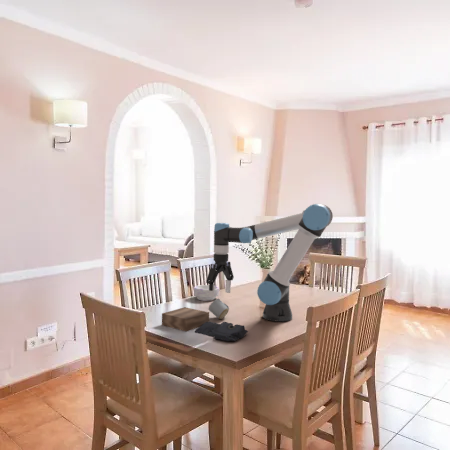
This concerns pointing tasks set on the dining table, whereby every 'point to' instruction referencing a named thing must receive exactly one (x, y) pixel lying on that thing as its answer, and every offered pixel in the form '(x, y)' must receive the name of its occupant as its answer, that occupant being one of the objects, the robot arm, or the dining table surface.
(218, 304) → the ceramic mug
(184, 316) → the walnut riser block
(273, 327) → the dining table surface
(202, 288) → the paper bowls
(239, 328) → the black flat crumpled piece
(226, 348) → the dining table surface
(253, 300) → the dining table surface
